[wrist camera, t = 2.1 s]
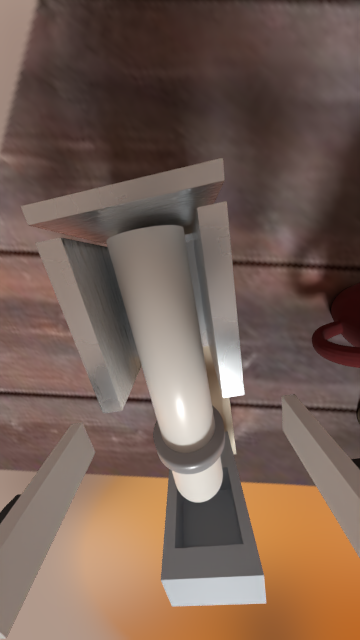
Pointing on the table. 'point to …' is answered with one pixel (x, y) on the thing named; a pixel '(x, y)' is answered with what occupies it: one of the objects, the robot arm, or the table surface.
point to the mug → (342, 329)
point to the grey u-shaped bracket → (101, 283)
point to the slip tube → (171, 354)
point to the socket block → (211, 545)
